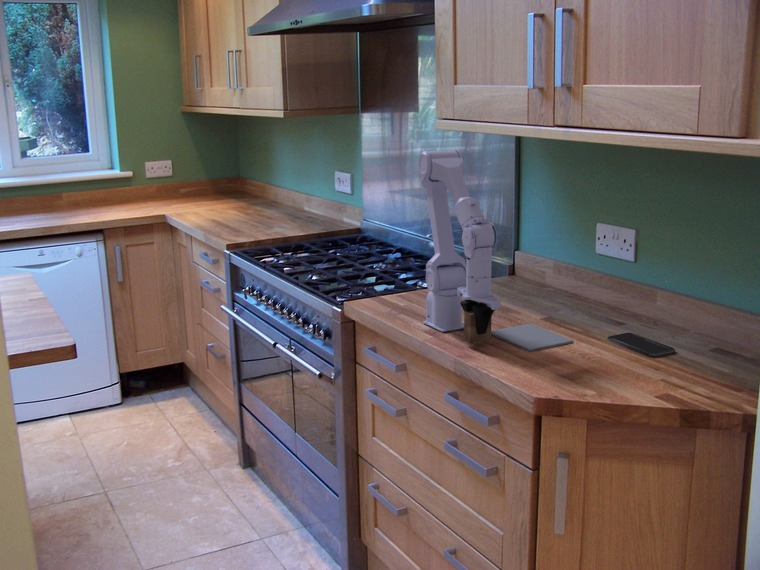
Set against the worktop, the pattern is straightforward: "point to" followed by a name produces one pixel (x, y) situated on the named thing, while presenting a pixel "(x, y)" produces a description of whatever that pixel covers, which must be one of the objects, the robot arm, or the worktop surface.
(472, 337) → the brown wooden block
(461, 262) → the robot arm
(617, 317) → the worktop surface
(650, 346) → the phone
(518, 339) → the rubber mat
